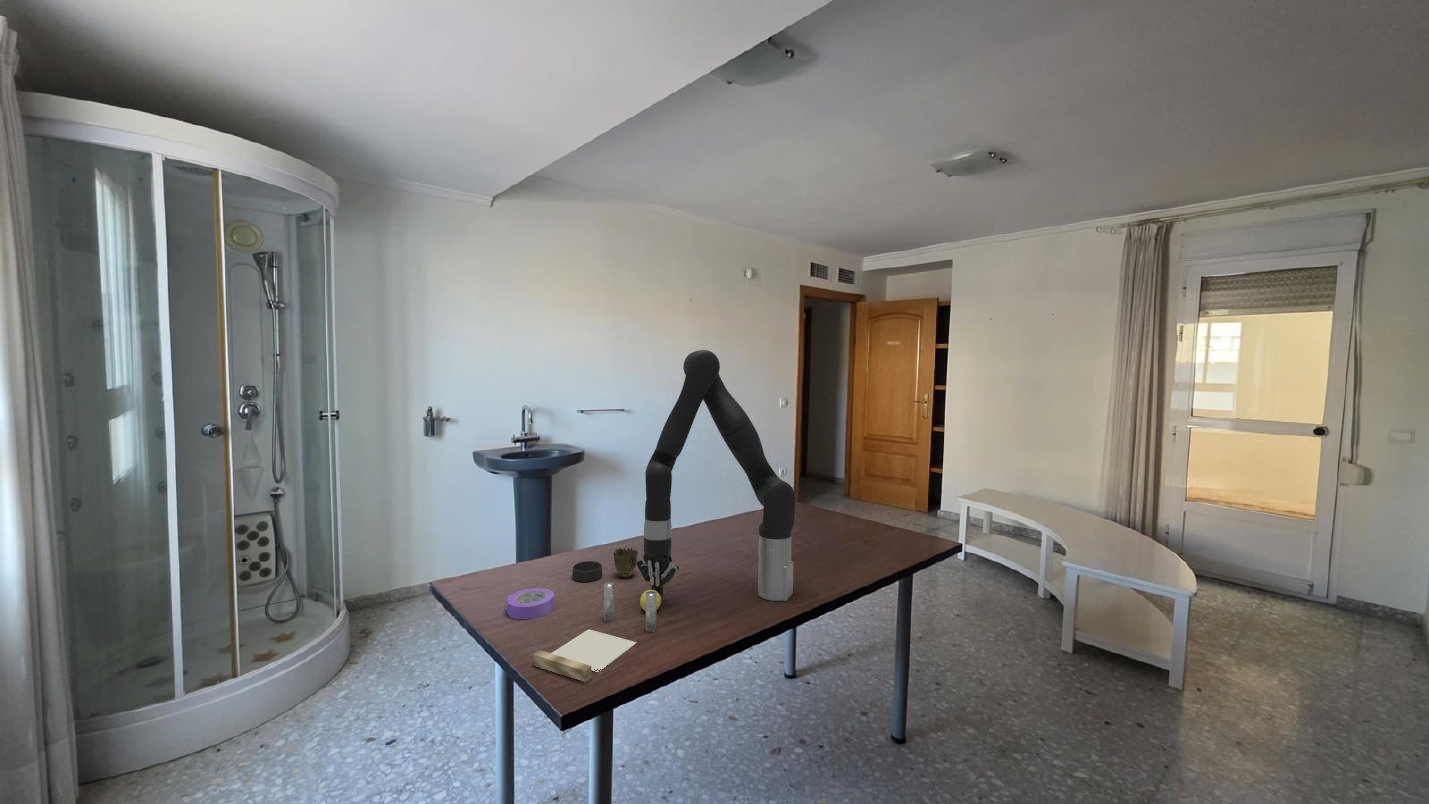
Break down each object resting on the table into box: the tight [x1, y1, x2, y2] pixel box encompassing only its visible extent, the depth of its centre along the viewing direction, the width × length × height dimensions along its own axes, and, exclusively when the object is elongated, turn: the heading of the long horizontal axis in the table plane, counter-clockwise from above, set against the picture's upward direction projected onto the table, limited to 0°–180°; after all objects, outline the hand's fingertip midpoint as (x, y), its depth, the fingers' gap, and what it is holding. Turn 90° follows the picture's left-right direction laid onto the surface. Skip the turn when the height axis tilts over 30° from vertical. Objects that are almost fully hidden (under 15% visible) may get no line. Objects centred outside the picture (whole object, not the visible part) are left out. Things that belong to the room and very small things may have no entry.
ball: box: [639, 589, 662, 612], centre depth 136 cm, size 6×6×6 cm
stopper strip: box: [532, 649, 592, 682], centre depth 107 cm, size 14×2×2 cm, turn 64°
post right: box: [644, 591, 657, 633], centre depth 126 cm, size 3×3×9 cm
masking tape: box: [506, 587, 555, 620], centre depth 136 cm, size 12×12×4 cm
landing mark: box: [550, 629, 637, 673], centre depth 116 cm, size 14×14×1 cm
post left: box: [603, 581, 615, 622], centre depth 131 cm, size 3×3×9 cm
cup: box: [612, 547, 638, 579], centre depth 160 cm, size 8×7×8 cm
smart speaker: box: [572, 560, 603, 583], centre depth 160 cm, size 9×9×4 cm
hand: (657, 597), depth 141 cm, fingers closed
